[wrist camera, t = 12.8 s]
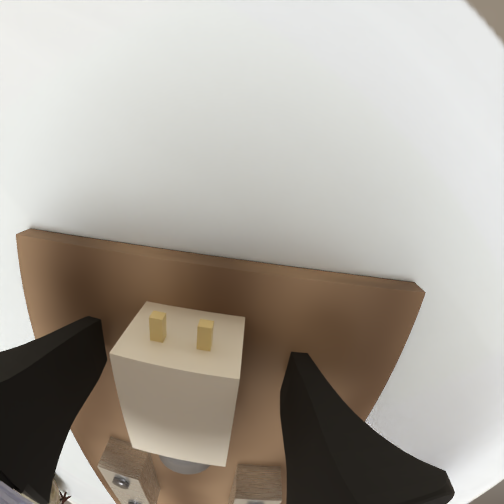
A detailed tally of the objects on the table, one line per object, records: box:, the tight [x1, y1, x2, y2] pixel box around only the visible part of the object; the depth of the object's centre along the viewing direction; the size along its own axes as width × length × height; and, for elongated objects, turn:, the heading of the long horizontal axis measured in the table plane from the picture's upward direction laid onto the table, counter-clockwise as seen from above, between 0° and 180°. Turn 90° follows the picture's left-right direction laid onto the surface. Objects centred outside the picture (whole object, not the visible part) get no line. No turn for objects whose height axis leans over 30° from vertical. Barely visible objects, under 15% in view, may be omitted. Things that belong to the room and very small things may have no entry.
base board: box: [16, 229, 426, 504], centre depth 14 cm, size 17×29×1 cm, turn 172°
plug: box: [109, 301, 245, 474], centre depth 9 cm, size 8×4×3 cm, turn 172°
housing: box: [97, 436, 282, 504], centre depth 13 cm, size 10×7×3 cm
